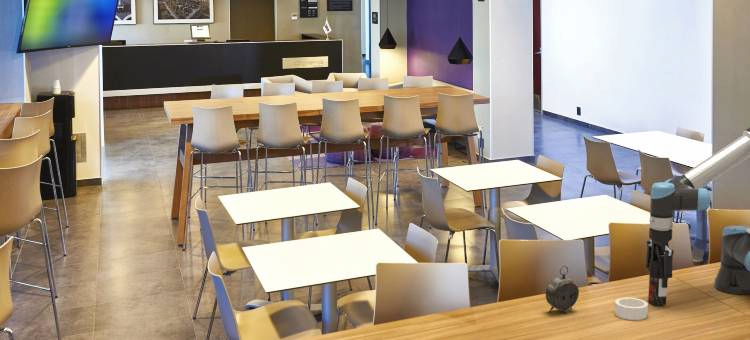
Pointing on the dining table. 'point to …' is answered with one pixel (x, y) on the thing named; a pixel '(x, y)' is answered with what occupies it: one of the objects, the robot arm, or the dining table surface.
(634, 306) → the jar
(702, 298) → the dining table surface
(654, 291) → the deodorant
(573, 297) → the alarm clock
